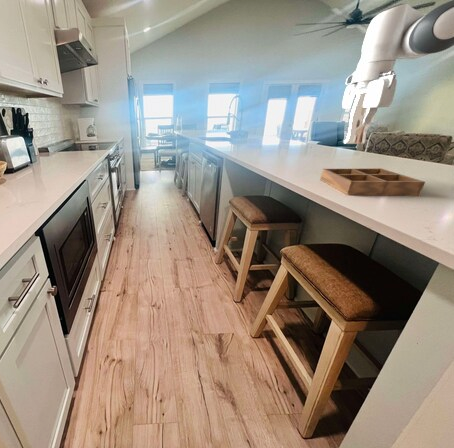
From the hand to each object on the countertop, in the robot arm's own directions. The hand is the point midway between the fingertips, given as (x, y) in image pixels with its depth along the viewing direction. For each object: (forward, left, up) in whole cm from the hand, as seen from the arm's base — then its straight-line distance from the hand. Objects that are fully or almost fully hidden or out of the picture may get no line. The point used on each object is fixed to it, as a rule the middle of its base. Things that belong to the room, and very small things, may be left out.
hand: (358, 123), depth 79 cm
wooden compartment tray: (-5, +5, -20) cm, 21 cm away
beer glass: (0, 0, -6) cm, 6 cm away
